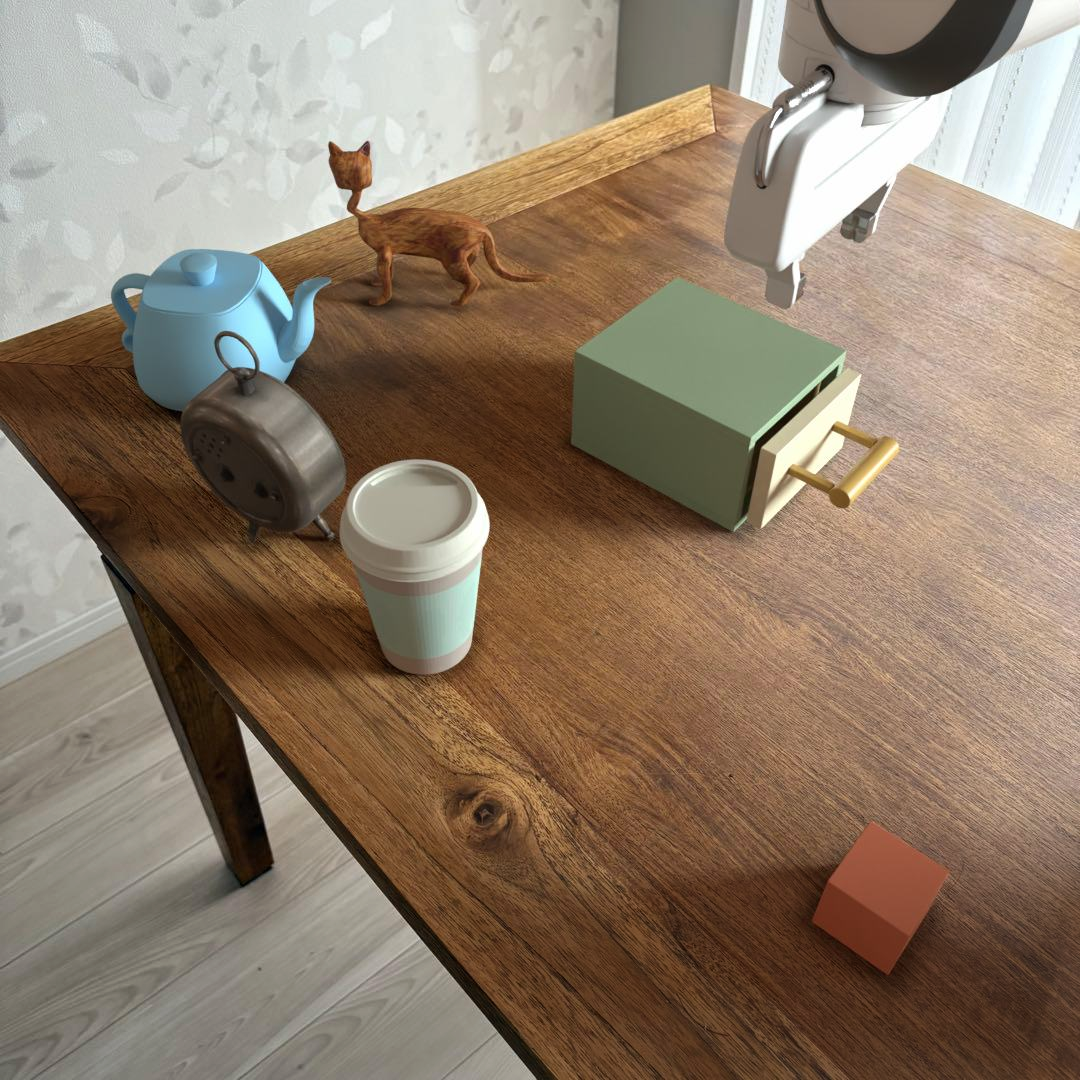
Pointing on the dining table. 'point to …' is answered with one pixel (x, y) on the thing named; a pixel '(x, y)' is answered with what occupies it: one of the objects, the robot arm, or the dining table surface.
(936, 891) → the block
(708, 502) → the cabinet
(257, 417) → the alarm clock
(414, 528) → the coffee cup
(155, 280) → the teapot
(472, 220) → the cat figurine
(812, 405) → the drawer
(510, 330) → the dining table surface
